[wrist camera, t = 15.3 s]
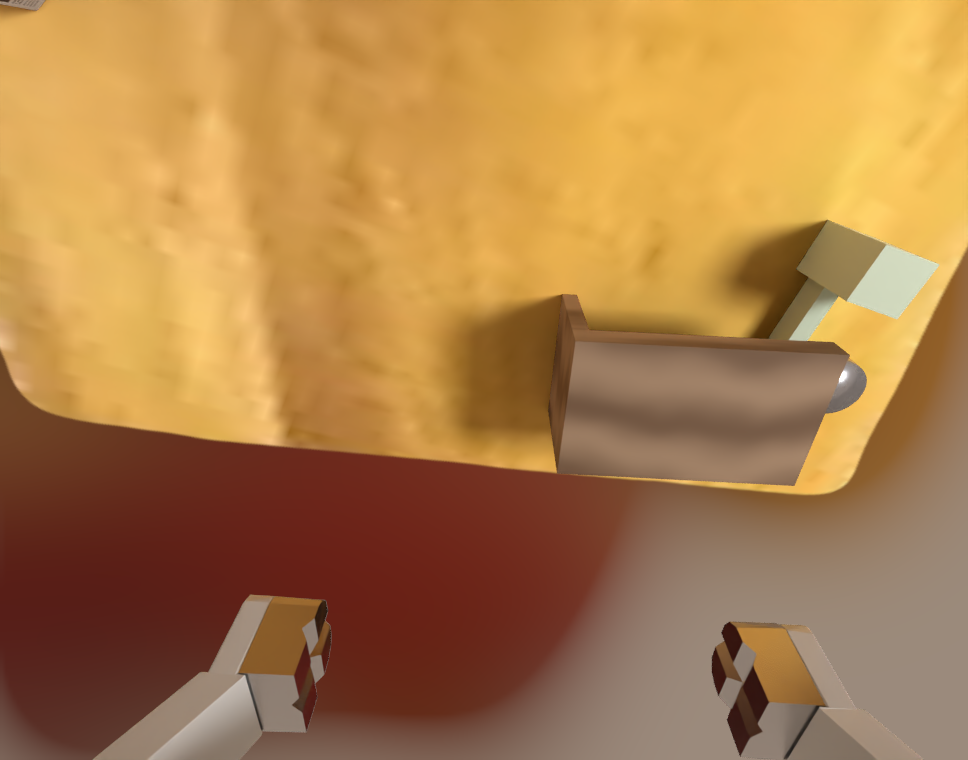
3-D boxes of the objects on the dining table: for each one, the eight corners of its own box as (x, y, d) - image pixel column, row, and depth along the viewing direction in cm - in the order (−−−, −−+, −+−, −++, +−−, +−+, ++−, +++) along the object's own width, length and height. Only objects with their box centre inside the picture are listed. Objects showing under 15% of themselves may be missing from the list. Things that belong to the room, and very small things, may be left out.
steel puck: (824, 341, 44) (837, 352, 43) (865, 368, 46) (880, 380, 44) (779, 384, 47) (789, 396, 45) (819, 409, 48) (831, 422, 46)
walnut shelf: (562, 294, 43) (575, 341, 35) (786, 305, 43) (849, 355, 35) (548, 410, 48) (557, 473, 41) (746, 420, 48) (794, 485, 41)
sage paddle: (827, 220, 40) (886, 244, 33) (873, 237, 40) (939, 264, 34) (716, 393, 47) (747, 439, 41) (755, 406, 48) (792, 453, 42)
